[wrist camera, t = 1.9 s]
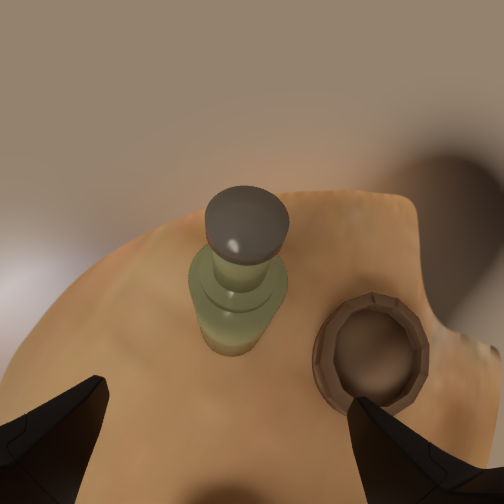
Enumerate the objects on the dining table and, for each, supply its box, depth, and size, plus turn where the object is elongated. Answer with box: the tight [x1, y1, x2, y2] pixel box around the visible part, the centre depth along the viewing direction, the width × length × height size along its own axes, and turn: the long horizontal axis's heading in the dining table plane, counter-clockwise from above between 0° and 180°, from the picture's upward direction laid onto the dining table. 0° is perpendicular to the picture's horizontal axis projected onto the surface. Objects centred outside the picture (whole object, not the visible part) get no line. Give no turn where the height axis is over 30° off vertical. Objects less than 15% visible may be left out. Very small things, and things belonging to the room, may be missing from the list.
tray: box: [312, 292, 429, 416], centre depth 20 cm, size 11×11×2 cm
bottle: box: [188, 186, 289, 357], centre depth 15 cm, size 5×5×15 cm
